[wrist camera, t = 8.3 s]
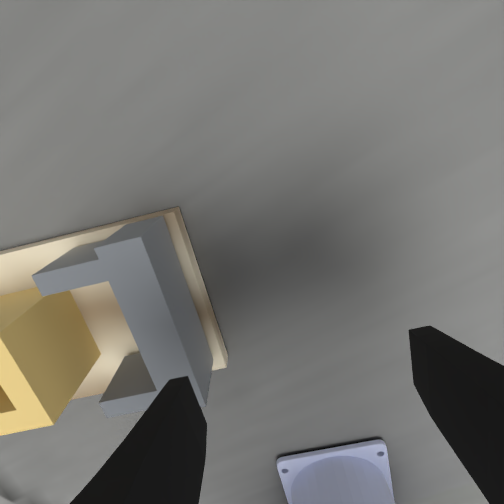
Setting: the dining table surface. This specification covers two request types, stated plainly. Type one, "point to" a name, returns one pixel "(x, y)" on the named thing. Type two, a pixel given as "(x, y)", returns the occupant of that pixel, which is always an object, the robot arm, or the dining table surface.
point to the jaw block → (41, 357)
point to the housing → (141, 311)
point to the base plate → (111, 295)
